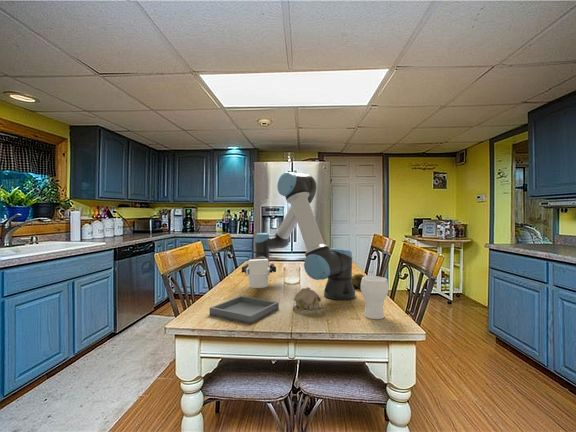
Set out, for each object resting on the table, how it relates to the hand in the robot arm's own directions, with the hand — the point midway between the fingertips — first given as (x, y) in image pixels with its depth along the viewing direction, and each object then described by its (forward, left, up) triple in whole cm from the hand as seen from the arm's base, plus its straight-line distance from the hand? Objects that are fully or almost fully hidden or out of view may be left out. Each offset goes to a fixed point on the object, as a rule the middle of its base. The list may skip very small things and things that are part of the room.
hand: (257, 272), depth 142 cm
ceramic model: (-25, -1, -14) cm, 28 cm away
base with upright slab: (+2, -4, -7) cm, 8 cm away
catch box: (-3, +13, -14) cm, 19 cm away
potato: (-31, -50, -14) cm, 60 cm away
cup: (-50, -9, -14) cm, 53 cm away
